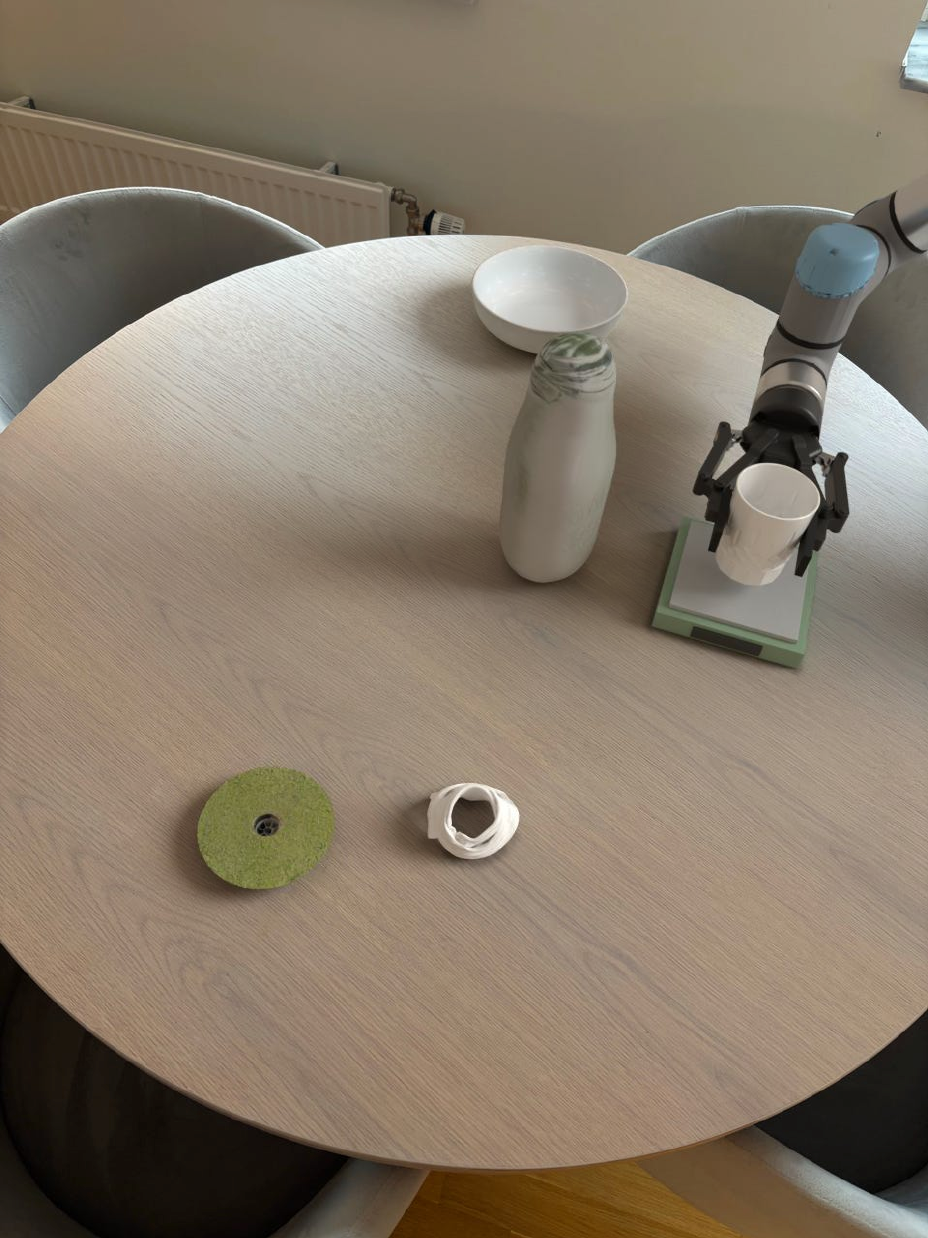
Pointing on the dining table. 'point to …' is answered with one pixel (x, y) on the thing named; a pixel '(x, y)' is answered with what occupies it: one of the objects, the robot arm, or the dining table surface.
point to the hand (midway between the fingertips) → (758, 554)
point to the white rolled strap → (458, 841)
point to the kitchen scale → (734, 602)
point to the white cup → (765, 522)
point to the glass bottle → (559, 459)
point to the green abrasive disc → (265, 827)
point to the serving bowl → (547, 295)
